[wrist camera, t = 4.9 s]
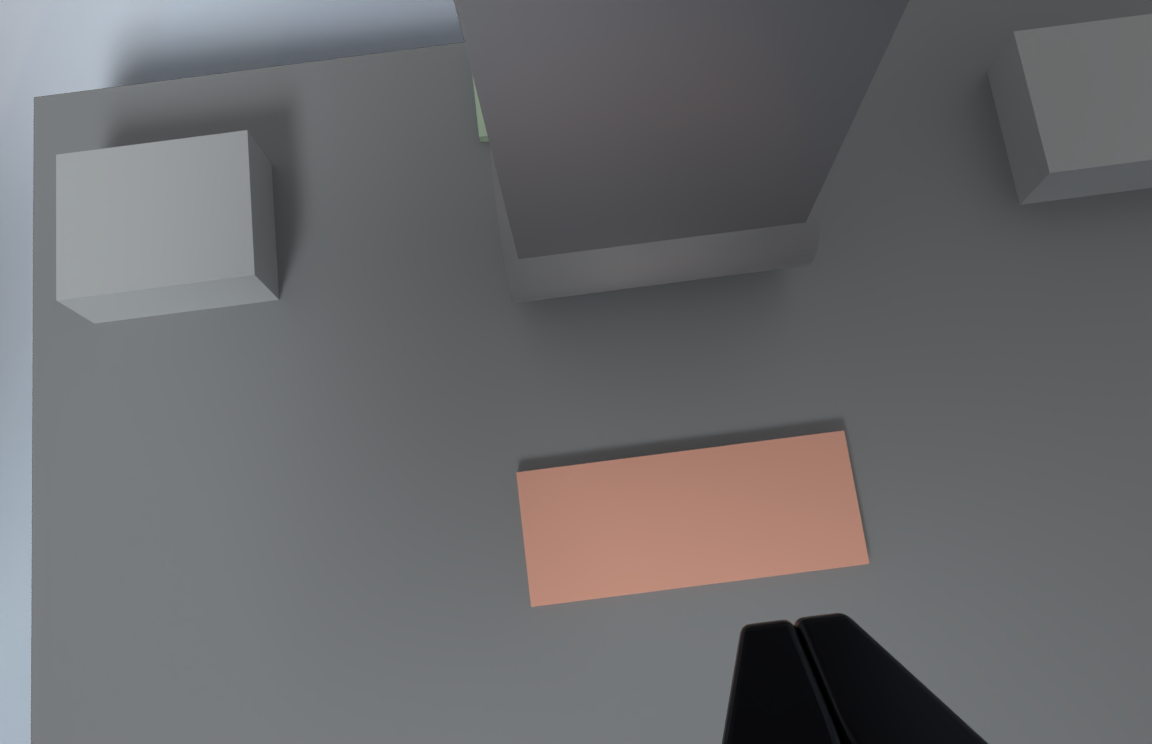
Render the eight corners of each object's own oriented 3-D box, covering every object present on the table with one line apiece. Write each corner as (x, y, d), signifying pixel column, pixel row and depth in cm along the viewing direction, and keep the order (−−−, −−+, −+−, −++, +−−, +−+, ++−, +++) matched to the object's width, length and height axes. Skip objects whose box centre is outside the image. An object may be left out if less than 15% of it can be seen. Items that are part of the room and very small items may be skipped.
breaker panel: (1368, 802, 16) (1543, 840, 13) (97, 963, 16) (-21, 1039, 13) (1139, 15, 20) (1237, -101, 17) (90, 149, 20) (-7, 60, 17)
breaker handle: (798, 287, 16) (1285, -619, 5) (518, 323, 16) (277, -489, 5) (772, 147, 17) (1143, -976, 5) (502, 181, 17) (251, -861, 5)
